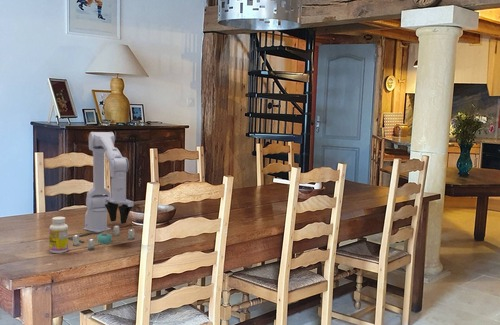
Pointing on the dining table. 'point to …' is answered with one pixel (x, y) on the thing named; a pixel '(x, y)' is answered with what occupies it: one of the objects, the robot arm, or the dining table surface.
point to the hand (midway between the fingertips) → (118, 222)
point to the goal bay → (84, 235)
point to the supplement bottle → (58, 235)
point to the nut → (104, 238)
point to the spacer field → (92, 241)
